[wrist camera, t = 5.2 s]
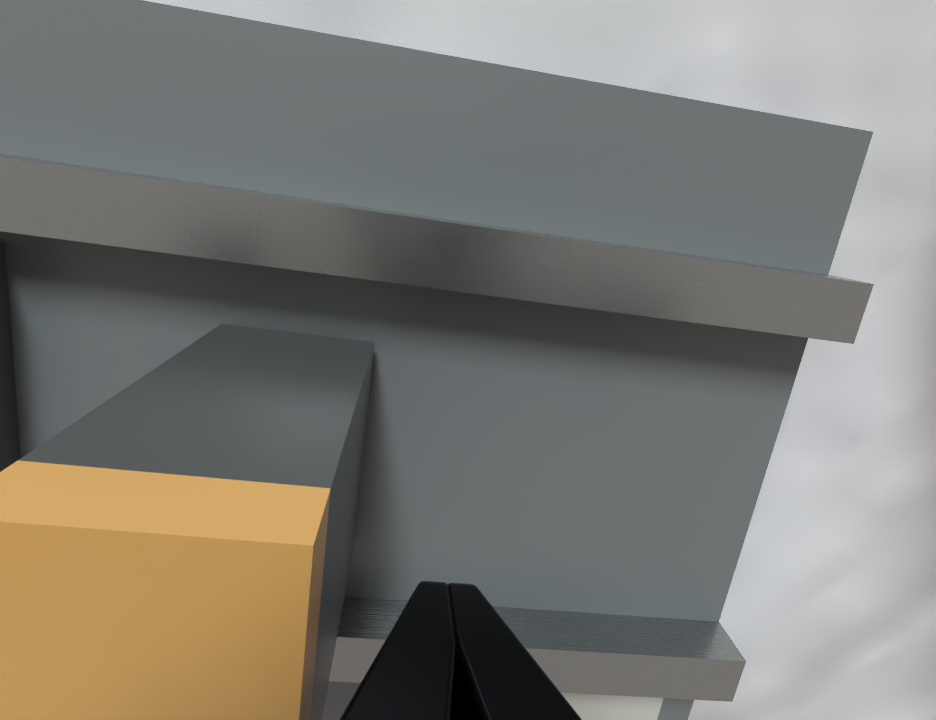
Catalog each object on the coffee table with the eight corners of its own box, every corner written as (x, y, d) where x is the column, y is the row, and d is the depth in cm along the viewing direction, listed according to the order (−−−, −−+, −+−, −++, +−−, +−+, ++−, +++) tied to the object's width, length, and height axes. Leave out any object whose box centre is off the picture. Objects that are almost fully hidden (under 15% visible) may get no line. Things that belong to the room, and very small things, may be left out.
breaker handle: (374, 342, 12) (313, 545, 5) (352, 553, 13) (280, 939, 6) (221, 323, 11) (-66, 516, 5) (215, 543, 13) (-15, 937, 6)
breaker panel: (832, 137, 13) (951, 121, 10) (662, 706, 17) (711, 811, 14) (-56, -21, 11) (-233, -99, 8) (7, 675, 15) (-92, 790, 12)
